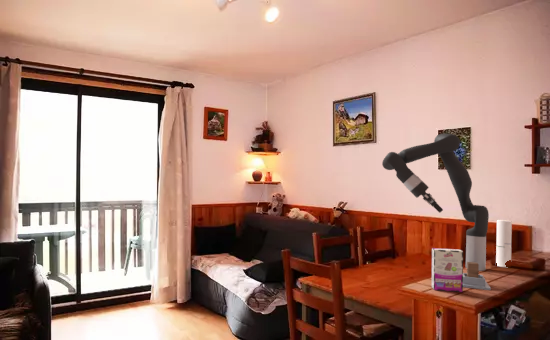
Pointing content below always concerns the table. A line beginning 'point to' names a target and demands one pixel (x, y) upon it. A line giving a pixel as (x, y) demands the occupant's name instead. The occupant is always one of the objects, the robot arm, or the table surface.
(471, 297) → the table surface
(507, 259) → the cylindrical container
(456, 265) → the candy bar box
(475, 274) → the walnut block
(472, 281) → the socket stand
